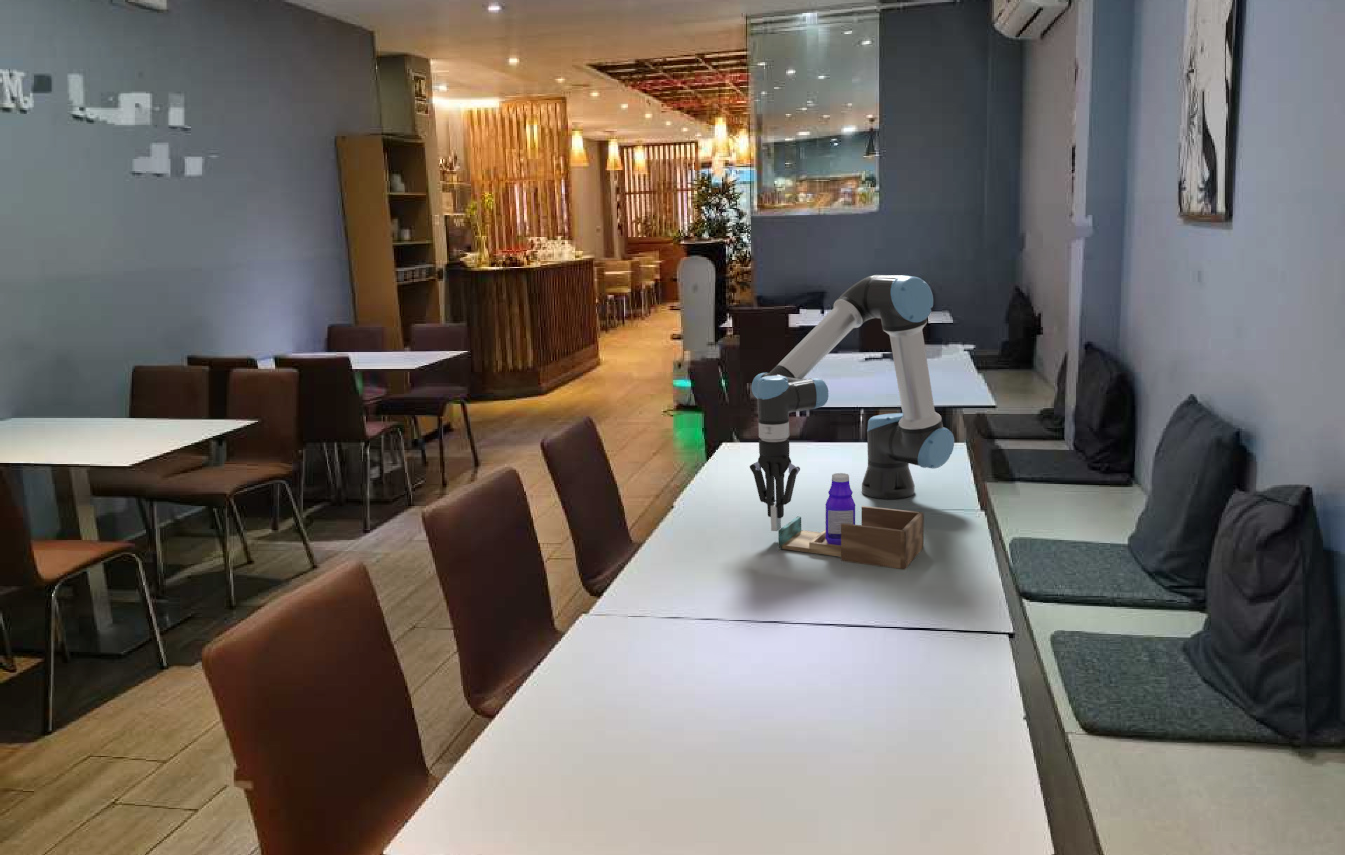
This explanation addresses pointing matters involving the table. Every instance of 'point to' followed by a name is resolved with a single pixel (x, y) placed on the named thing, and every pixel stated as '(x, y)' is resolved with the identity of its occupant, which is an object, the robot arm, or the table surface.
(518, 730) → the table surface
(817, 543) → the tray
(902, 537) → the housing
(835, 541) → the bottle
